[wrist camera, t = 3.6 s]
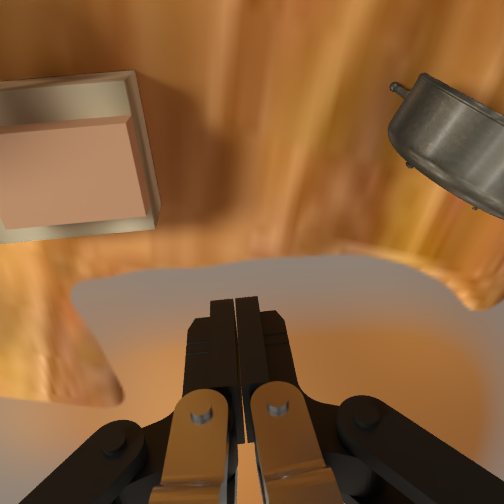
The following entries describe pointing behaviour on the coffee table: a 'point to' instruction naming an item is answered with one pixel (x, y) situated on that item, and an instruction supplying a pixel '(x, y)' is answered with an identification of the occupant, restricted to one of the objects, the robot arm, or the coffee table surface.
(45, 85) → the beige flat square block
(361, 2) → the coffee table surface
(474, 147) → the alarm clock
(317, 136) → the coffee table surface
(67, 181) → the pink block
